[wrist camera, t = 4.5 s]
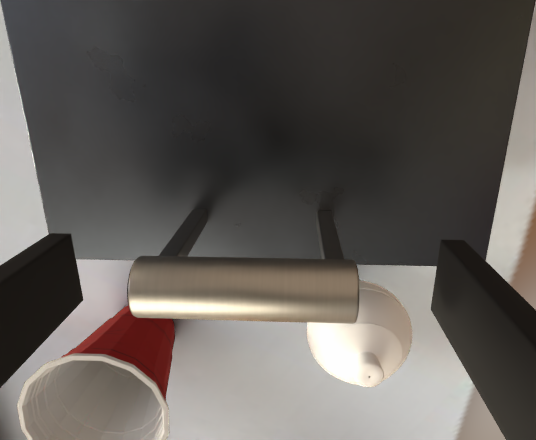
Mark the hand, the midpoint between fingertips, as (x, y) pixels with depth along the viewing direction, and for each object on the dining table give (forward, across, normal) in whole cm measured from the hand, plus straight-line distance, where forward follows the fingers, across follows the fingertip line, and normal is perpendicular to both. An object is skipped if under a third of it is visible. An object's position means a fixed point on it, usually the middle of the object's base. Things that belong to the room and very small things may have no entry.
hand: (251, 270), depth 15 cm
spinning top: (+20, +6, -11) cm, 24 cm away
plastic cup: (+20, -13, -16) cm, 29 cm away
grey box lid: (+6, 0, +9) cm, 11 cm away
